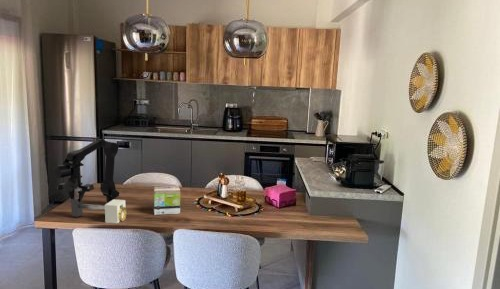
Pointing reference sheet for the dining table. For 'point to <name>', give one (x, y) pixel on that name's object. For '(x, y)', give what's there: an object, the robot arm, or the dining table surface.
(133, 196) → the dining table surface
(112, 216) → the bearing block
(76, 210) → the shaft
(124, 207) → the spacer
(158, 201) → the tea box
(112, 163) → the robot arm
